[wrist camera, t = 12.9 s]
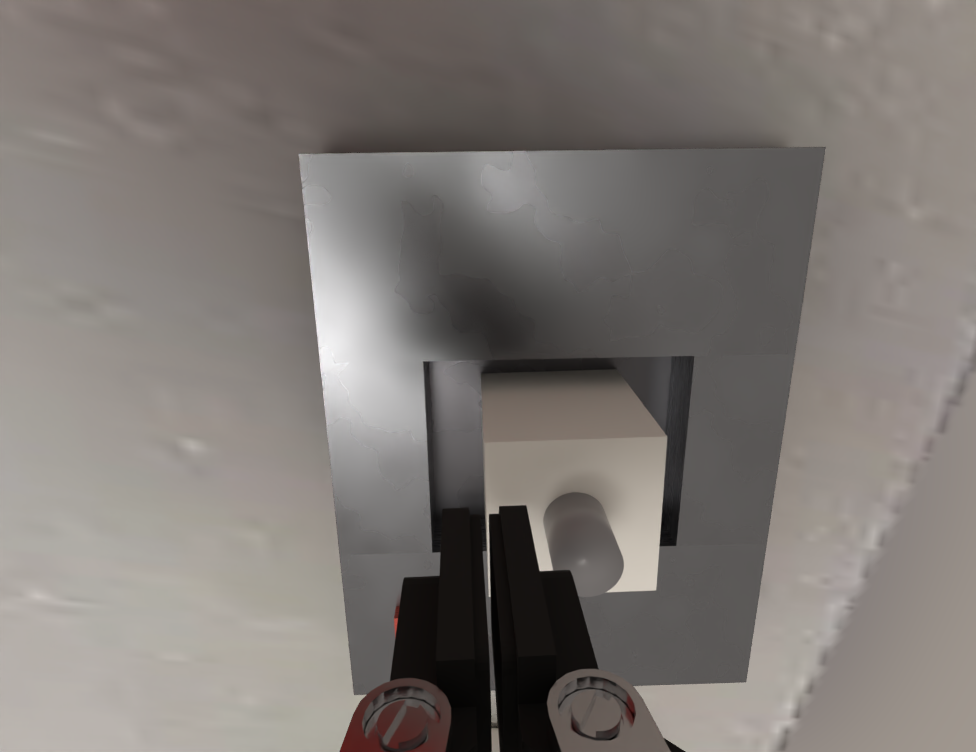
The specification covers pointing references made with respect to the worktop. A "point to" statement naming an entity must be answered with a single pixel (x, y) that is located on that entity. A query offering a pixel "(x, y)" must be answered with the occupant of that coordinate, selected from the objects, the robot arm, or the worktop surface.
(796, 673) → the worktop surface
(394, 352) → the socket
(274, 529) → the worktop surface
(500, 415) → the plug
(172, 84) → the worktop surface
